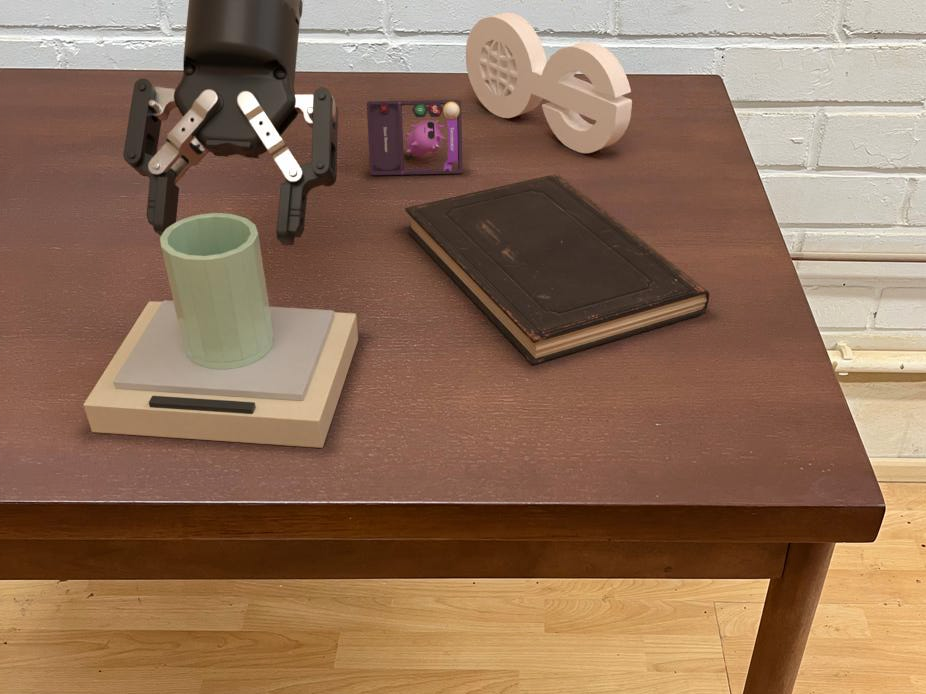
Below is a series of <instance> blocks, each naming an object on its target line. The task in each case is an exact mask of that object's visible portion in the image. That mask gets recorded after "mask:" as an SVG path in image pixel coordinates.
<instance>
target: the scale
mask: <svg viewBox="0 0 926 694" xmlns="http://www.w3.org/2000/svg"><path fill="white" fill-rule="evenodd" d="M269 308H270V315H271V321H272V328H273V337H274V343H273V346H272V348H271V350H270V351H269V352H268V353H267V354H266V355H265V356H264V357H262V358H261V359H259V360H258V361H256V362H254V363H251V364H249V365H246V366H242V367H238V368H232V369H212V368H206V367H203V366H200V365H198V364H196V363H194V362H193V361H191V360H190V359H189V358H188V357H187V355H186V353H185V349H184V346H183V342H182V337H181V333H180V328H179V324H178V320H177V315H176V311H175V306H174V302H173V300H162V301H153V300H150V301H148V302H147V304H146V305H145V306H144V309H143V310H142V311H141V313H140V315H139V316H138V318H137V319H136V321H135V323H134V324H133V326H132V327H131V329H130V330H129V332H128V333H127V334H126V337H125V338H124V340H123V342H122V343H121V344H120V346H119V348H118V349H117V351H116V352H115V354H114V356H113V357H112V359H111V361H110V362H109V363H108V365H107V366H106V368H105V370H104V371H103V373H102V374H101V376H100V377H99V378H98V381H97V382H96V384H95V385H94V387H93V389H92V390H91V391H90V393H89V394H88V396H87V398H86V400H85V401H84V403H83V409H84V412H85V415H86V418H87V421H88V425H89V427H90V431H91V433H101V434H112V435H113V434H115V435H128V436H129V435H130V436H140V437H141V436H142V437H143V436H144V437H158V438H172V439H184V440H185V439H188V440H200V441H201V440H202V441H214V442H215V441H216V442H230V443H243V444H258V445H259V444H260V445H271V446H272V445H273V446H287V447H288V446H290V447H303V448H314V449H315V448H317V449H318V448H319V449H322V448H324V445H325V442H326V440H327V436H328V433H329V430H330V427H331V424H332V421H333V418H334V415H335V413H336V409H337V406H338V402H339V400H340V397H341V394H342V390H343V388H344V385H345V382H346V378H347V376H348V373H349V369H350V367H351V363H352V361H353V357H354V354H355V351H356V348H357V345H358V342H359V332H358V320H357V319H358V318H357V313H356V312H355V313H353V312H352V313H351V312H337V311H336V312H335V310H332V309H316V308H301V307H299V308H298V307H284V306H283V307H282V306H269Z"/></svg>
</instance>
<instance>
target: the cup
mask: <svg viewBox="0 0 926 694" xmlns="http://www.w3.org/2000/svg"><path fill="white" fill-rule="evenodd" d="M159 243H160V249H161V253H162V257H163V261H164V267H165V271H166V276H167V279H168V284H169V288H170V293H171V297H172V301H173V302H174V306H175V311H176V315H177V320H178V324H179V328H180V333H181V337H182V342H183V346H184V349H185V353H186V355H187V357H188V358H189V359H190V360H191V361H193V362H194V363H196V364H198V365H200V366H203V367H206V368H212V369H232V368H238V367H242V366H246V365H249V364H251V363H254V362H256V361H258V360H259V359H261V358H262V357H264V356H265V355H266V354H267V353H268V352H269V351H270V350H271V348H272V346H273V343H274V337H273V328H272V321H271V315H270V308H269V307H270V302H269V301H270V300H269V296H268V289H267V282H266V275H265V269H264V264H263V262H264V261H263V255H262V250H261V243H260V237H259V231H258V228H257V225H256V224H255V223H254V222H252V221H251V220H250V219H249V218H247V217H245V216H240V215H237V214H234V213H225V212H224V213H222V212H210V213H201V214H195V215H191V216H188V217H185V218H182V219H180V220H176V223H174V224H172V225H171V226H169V227H167V228H166V229H165V231H164V232H163V234H162V235H161V236H160V237H159Z"/></svg>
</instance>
